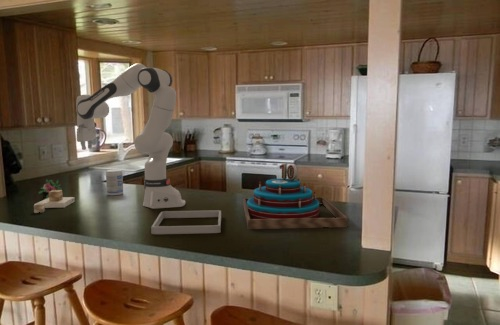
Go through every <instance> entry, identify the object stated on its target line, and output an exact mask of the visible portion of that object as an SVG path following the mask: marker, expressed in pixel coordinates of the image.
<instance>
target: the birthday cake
mask: <svg viewBox="0 0 500 325" xmlns="http://www.w3.org/2000/svg"><path fill="white" fill-rule="evenodd" d="M278 166H279V170H280V169H281V178H274V177H272V178H271V179H267V180H266V181H265V185H264V186H262V182H261V181H259V184H258V185H259V186H258V187H257V188H254V189H253V196H252V197H249V198H250V199H248V201H247V208H248V212H249V217H250V219H291V218H319V217H320V216H319V215H320V205H319V201H318V200H316V197H317V195H316V191H315V190H314V192H313V190H312V189H310V188H309V187H306V186H307V185H306V183H305V182H304V183H303V186H302V185H301V181H300V178H297V177H298V168H297V165H296V164H294V163H291V164H288V165H287V163H286V162H283V163H282V164H279V165H278ZM296 178H297V179H296ZM312 197H314V198H312Z"/></svg>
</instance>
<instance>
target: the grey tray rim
mask: <svg viewBox="0 0 500 325" xmlns="http://www.w3.org/2000/svg"><path fill="white" fill-rule="evenodd" d="M186 218H187V219H188V218H190V219H192V218H218V220H217V224H214V225H212V224H210V225H207V224H206V225H170V226H169V225H166V226H165V225H161V223H162V221H163V220H164V219H186ZM150 227H151V228H150V229H151V232H150V233H151V235H183V234H185V235H189V234H218V233H222V232H221V231H222V230H221V229H222V210H169V211H168V210H164V211H161V212H160V213H159V214H158V216H157V218H156V219H155V220H154V222H153V224H152V225H151V226H150Z"/></svg>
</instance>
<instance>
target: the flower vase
mask: <svg viewBox="0 0 500 325" xmlns="http://www.w3.org/2000/svg"><path fill="white" fill-rule="evenodd" d="M60 186H61V184H59V179H57V180H56V182H54V180H53V179H49V180H48V178H46V179H45V184H43V186H41V187H40V189H41V190H40V191H38V193H37V194H39V195H40V194H42V193H48V194H46V196H45V199H47V198H49V192H50V191H52V190H62V189H63V188H62V187H60Z"/></svg>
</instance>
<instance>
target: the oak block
mask: <svg viewBox="0 0 500 325" xmlns="http://www.w3.org/2000/svg"><path fill="white" fill-rule="evenodd" d="M48 195H49V197H48V198H49V201H60V200H62V199H63V197H64V196H63V190H62V189H56V190H52V191H50V192H48Z"/></svg>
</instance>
